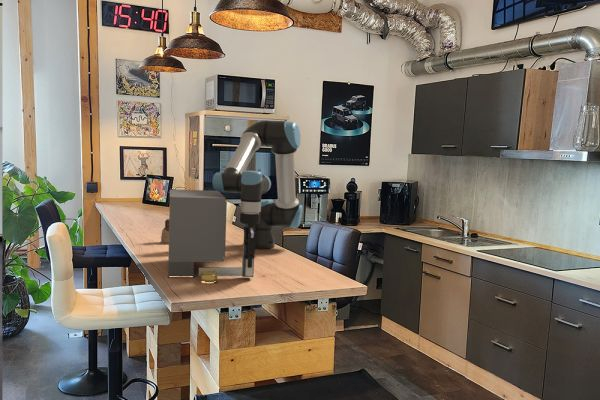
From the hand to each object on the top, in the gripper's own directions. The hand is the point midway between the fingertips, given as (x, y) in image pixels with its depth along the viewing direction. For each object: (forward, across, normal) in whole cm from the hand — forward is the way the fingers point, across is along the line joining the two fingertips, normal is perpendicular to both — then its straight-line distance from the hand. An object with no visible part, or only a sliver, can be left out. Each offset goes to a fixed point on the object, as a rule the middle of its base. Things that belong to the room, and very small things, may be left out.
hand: (247, 273), depth 185 cm
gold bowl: (+2, +3, -15) cm, 15 cm away
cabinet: (+2, -17, -19) cm, 26 cm away
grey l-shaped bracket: (+1, 0, -8) cm, 8 cm away
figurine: (+2, -67, -29) cm, 73 cm away
